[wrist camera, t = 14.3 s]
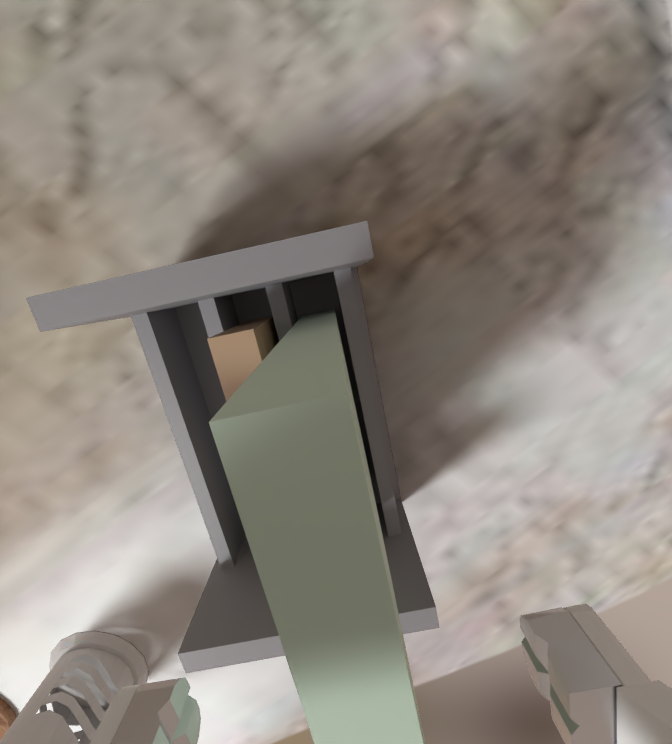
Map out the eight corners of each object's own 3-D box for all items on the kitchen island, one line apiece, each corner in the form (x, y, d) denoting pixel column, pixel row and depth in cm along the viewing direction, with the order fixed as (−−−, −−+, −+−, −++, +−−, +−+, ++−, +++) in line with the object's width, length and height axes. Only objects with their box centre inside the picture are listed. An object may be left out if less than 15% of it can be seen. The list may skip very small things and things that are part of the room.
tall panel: (302, 315, 25) (208, 422, 6) (334, 308, 25) (346, 393, 6) (342, 483, 29) (365, 898, 9) (370, 477, 29) (454, 885, 9)
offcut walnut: (244, 321, 25) (207, 338, 18) (276, 314, 25) (253, 328, 17) (269, 410, 27) (244, 461, 19) (299, 404, 27) (286, 453, 19)
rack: (155, 291, 26) (25, 297, 15) (351, 247, 26) (367, 220, 14) (237, 535, 32) (185, 673, 20) (400, 503, 31) (439, 627, 20)
